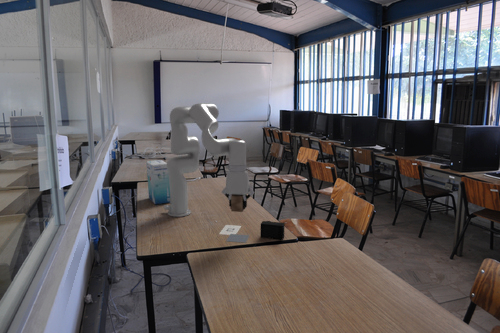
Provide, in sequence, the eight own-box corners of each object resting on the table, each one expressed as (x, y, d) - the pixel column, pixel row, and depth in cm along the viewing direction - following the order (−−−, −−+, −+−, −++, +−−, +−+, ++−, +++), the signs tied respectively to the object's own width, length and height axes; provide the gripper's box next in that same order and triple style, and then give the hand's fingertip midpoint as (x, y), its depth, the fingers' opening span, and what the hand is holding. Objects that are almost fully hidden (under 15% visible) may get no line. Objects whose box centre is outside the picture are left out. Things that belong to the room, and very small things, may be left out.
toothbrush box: (148, 198, 239) (146, 160, 234) (164, 196, 243) (162, 159, 239) (154, 205, 223) (152, 165, 219) (171, 203, 228) (170, 163, 223)
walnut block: (231, 211, 166) (231, 196, 165) (233, 208, 171) (233, 193, 170) (242, 211, 165) (242, 196, 164) (244, 208, 170) (244, 193, 169)
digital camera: (285, 236, 174) (285, 221, 173) (282, 240, 169) (283, 225, 168) (263, 234, 177) (263, 219, 176) (260, 238, 172) (260, 223, 171)
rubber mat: (225, 241, 167) (225, 241, 167) (230, 234, 176) (230, 233, 176) (245, 243, 166) (245, 242, 166) (249, 235, 174) (249, 235, 174)
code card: (218, 234, 176) (218, 233, 176) (225, 225, 189) (225, 224, 189) (235, 235, 175) (235, 235, 175) (241, 226, 187) (241, 225, 187)
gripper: (216, 169, 163) (217, 209, 166) (255, 170, 160) (255, 211, 163) (221, 166, 170) (221, 205, 173) (258, 167, 167) (258, 207, 170)
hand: (238, 207), depth 168 cm, fingers closed on walnut block, 5 cm apart
